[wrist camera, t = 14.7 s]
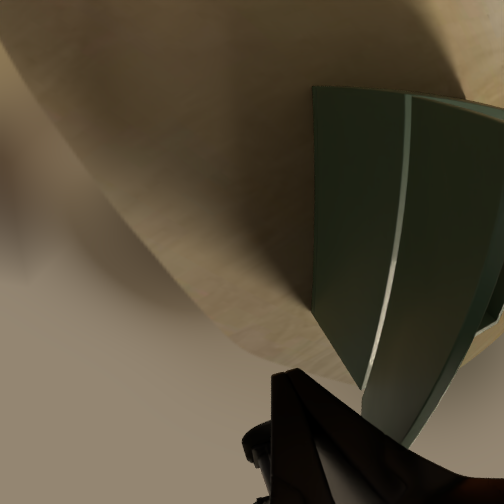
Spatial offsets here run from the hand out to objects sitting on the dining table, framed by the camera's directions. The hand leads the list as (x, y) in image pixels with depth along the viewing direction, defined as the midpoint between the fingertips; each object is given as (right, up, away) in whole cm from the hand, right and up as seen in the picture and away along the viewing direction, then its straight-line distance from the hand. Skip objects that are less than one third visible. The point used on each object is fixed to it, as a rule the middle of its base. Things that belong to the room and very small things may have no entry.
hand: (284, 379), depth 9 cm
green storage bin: (+9, +7, +11) cm, 16 cm away
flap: (+4, +1, 0) cm, 4 cm away
